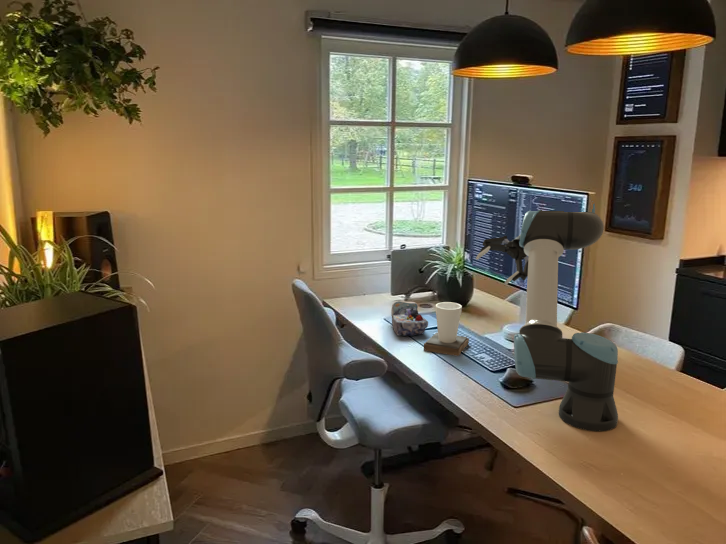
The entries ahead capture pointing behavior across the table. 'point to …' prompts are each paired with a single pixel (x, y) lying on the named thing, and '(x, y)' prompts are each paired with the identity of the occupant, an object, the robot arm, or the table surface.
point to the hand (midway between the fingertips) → (491, 269)
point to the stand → (446, 345)
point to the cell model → (407, 319)
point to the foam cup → (448, 321)
